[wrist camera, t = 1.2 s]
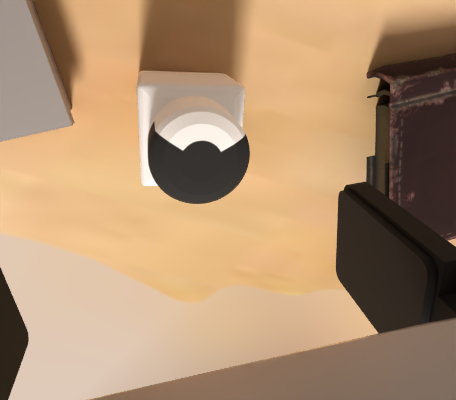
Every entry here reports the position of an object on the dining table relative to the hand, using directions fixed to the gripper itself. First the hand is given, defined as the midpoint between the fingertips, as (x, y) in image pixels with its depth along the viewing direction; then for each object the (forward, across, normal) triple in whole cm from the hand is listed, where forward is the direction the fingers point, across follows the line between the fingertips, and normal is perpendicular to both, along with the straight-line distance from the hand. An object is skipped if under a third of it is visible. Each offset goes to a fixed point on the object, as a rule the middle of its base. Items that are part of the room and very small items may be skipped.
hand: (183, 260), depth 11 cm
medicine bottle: (+24, -2, +2) cm, 24 cm away
